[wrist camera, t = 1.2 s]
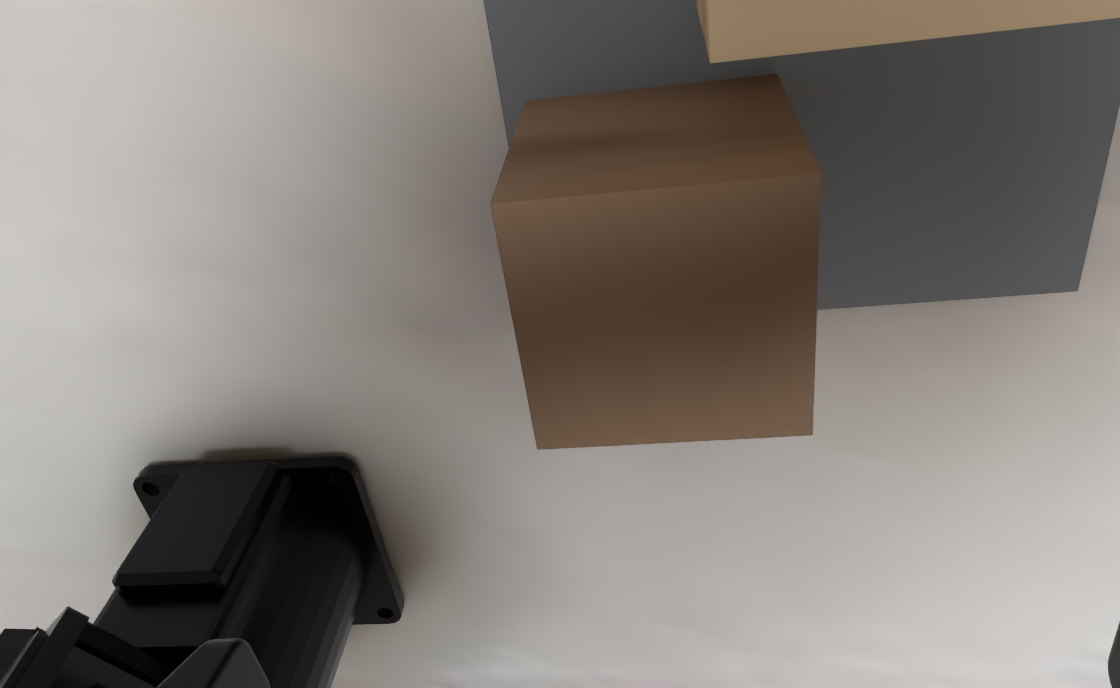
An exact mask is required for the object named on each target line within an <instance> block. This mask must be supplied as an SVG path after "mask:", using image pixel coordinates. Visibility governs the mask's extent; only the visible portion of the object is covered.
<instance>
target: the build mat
mask: <svg viewBox="0 0 1120 688" xmlns="http://www.w3.org/2000/svg"><path fill="white" fill-rule="evenodd" d="M484 5H485V11H486V17H487V23H488V29H489V34H490V40H491V46H492V52H493V58H494V64H495V69H496V75H497V81H498V87H499V93H500V98H501V104H502V110H503V116H504V122H505V128H506V133H507V139H508V145H509V148H510V145H511V142H512V139H513V136H514V133H515V130H516V127H517V124H518V121H519V118H520V116H521V113H522V110H523V107H524V104H525V101H530V100H539V99H549V98H558V97H567V96H576V95H586V94H595V93H604V92H613V91H622V90H632V89H641V88H650V87H659V86H669V85H678V84H687V83H696V82H705V81H715V80H724V79H733V78H742V77H752V76H761V75H770V74H777V76H778V78H779V80H780V82H781V85H782V87H783V89H784V91H785V93H786V96H787V98H788V100H789V102H790V105H791V107H792V109H793V111H794V113H795V116H796V118H797V120H798V122H799V125H800V127H801V129H802V131H803V133H804V136H805V138H806V140H807V142H808V145H809V147H810V149H811V151H812V153H813V156H814V158H815V160H816V162H817V165H818V167H819V169H820V171H821V201H820V230H819V259H818V288H817V310H820V309H834V308H848V307H862V306H876V305H890V304H904V303H918V302H932V301H945V300H959V299H973V298H987V297H1001V296H1015V295H1029V294H1043V293H1057V292H1071V291H1078V288H1079V283H1080V279H1081V274H1082V270H1083V265H1084V261H1085V257H1086V252H1087V248H1088V243H1089V239H1090V234H1091V230H1092V225H1093V221H1094V216H1095V212H1096V207H1097V203H1098V198H1099V194H1100V189H1101V185H1102V181H1103V176H1104V172H1105V167H1106V163H1107V158H1108V154H1109V149H1110V145H1111V140H1112V136H1113V131H1114V127H1115V122H1116V118H1117V113H1118V109H1119V105H1120V18H1113V19H1104V20H1095V21H1086V22H1077V23H1068V24H1059V25H1050V26H1041V27H1032V28H1023V29H1014V30H1005V31H996V32H987V33H978V34H969V35H960V36H951V37H942V38H933V39H924V40H915V41H906V42H897V43H888V44H879V45H870V46H861V47H852V48H843V49H834V50H825V51H816V52H807V53H798V54H789V55H780V56H771V57H762V58H753V59H744V60H735V61H726V62H717V63H710V61H709V56H708V52H707V48H706V44H705V40H704V36H703V32H702V27H701V23H700V19H699V15H698V11H697V7H696V0H484Z"/></svg>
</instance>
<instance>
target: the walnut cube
mask: <svg viewBox="0 0 1120 688" xmlns="http://www.w3.org/2000/svg"><path fill="white" fill-rule="evenodd" d="M820 201H821V171H820V169H819V167H818V165H817V162H816V160H815V158H814V156H813V153H812V151H811V149H810V147H809V145H808V142H807V140H806V138H805V136H804V133H803V131H802V129H801V127H800V125H799V122H798V120H797V118H796V116H795V113H794V111H793V109H792V107H791V105H790V102H789V100H788V98H787V96H786V93H785V91H784V89H783V87H782V85H781V82H780V80H779V78H778V76H777V74H770V75H761V76H752V77H742V78H733V79H724V80H715V81H705V82H696V83H687V84H678V85H669V86H659V87H650V88H641V89H632V90H622V91H613V92H604V93H595V94H586V95H576V96H567V97H558V98H549V99H539V100H530V101H525V104H524V107H523V110H522V113H521V116H520V118H519V121H518V124H517V127H516V130H515V133H514V136H513V139H512V142H511V145H510V148H509V151H508V154H507V157H506V160H505V162H504V165H503V168H502V171H501V174H500V177H499V180H498V183H497V186H496V189H495V192H494V195H493V198H492V201H491V204H490V205H491V210H492V215H493V220H494V225H495V231H496V236H497V241H498V246H499V252H500V257H501V262H502V267H503V273H504V278H505V283H506V288H507V293H508V299H509V304H510V309H511V314H512V320H513V325H514V330H515V335H516V341H517V346H518V351H519V356H520V361H521V367H522V372H523V377H524V382H525V388H526V393H527V398H528V403H529V408H530V414H531V419H532V424H533V429H534V435H535V440H536V445H537V450H538V449H557V448H576V447H595V446H614V445H633V444H652V443H672V442H691V441H710V440H729V439H748V438H767V437H786V436H805V435H812V433H813V404H814V375H815V346H816V317H817V288H818V259H819V230H820Z"/></svg>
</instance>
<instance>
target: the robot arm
mask: <svg viewBox="0 0 1120 688" xmlns="http://www.w3.org/2000/svg"><path fill="white" fill-rule="evenodd" d="M334 473H338V474H341V475H342V476H344V477H339V476H337V475H335V474H334ZM152 483H153V484H152ZM154 484H155V485H154ZM156 485H157V486H156ZM133 486H134V490H135V492H136V494H137V495H138V497H139V499H140V501H141V503H142V505H143V507H144V508H145V510H146V512H147V514H148V516H149V518H150V519H151V520H150V521H149V523H148V524H147V526H146V527H145V529H144V531H143V532H142V534H141V535H140V537H139V538H138V540H137V541H136V543H135V544H134V546H133V547H132V549H131V551H130V552H129V554H128V555H127V557H126V558H125V560H124V561H123V563H122V564H121V566H120V568H119V569H118V571H117V572H116V574H115V575H114V577H113V580H112V583H113V585H114V586H115V588H116V589H115V590H114V592H113V593H112V595H111V597H110V598H109V600H108V601H107V603H106V604H105V606H104V608H103V609H102V611H101V612H100V614H99V615H98V617H97V619H96V620H95V622H94V623H93V624H91V623H89V622H88V620H89V617H88V616H86V615H84V614H82V613H80V612H78V611H76V610H74V609H72V608H70V607H68V606H67V607H66V609H65V610H64V611H63V612H62V613H61V614H60V615H59V617H58V618H57V619H56V620H55V621H54V622H53V623H52V624H51V626H50V627H49V628H48V629H47V630H46V631H44V630H42V629H40V628H38V627H36V629H4V630H3V632H2V633H1V634H0V688H331V686H332V683H333V680H334V677H335V674H336V671H337V668H338V665H339V662H340V659H341V656H342V653H343V650H344V647H345V644H346V641H347V638H348V635H349V632H350V629H351V626H352V625H355V624H390V623H395V622H397V621H399V620H400V618H401V616H402V612H403V609H404V601H403V598H402V595H401V592H400V589H399V586H398V584H397V581H396V578H395V575H394V572H393V569H392V566H391V563H390V560H389V557H388V555H387V552H386V549H385V546H384V543H383V540H382V537H381V534H380V531H379V528H378V525H377V523H376V520H375V517H374V514H373V511H372V508H371V505H370V502H369V499H368V496H367V493H366V491H365V488H364V485H363V482H362V479H361V476H360V473H359V470H358V468H357V467H356V465H355V464H354V463H353V462H352V461H351V460H349V459H346V458H344V457H337V456H335V457H316V458H297V459H278V460H260V461H241V462H222V463H203V464H184V465H165V466H150V467H145V468H144V469H143V470H141V472H140V473H139V475H138V476H137V477H136V479H135V480H134V483H133ZM1108 673H1109V678H1110V683H1111V686H1112V688H1120V623H1119V626H1118V629H1117V632H1116V636H1115V639H1114V642H1113V645H1112V649H1111V652H1110V655H1109V660H1108Z"/></svg>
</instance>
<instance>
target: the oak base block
mask: <svg viewBox="0 0 1120 688" xmlns="http://www.w3.org/2000/svg"><path fill="white" fill-rule="evenodd" d="M696 7H697V11H698V15H699V19H700V23H701V27H702V32H703V36H704V40H705V44H706V48H707V52H708V56H709V61H710V63H717V62H726V61H735V60H744V59H753V58H762V57H771V56H780V55H789V54H798V53H807V52H816V51H825V50H834V49H843V48H852V47H861V46H870V45H879V44H888V43H897V42H906V41H915V40H924V39H933V38H942V37H951V36H960V35H969V34H978V33H987V32H996V31H1005V30H1014V29H1023V28H1032V27H1041V26H1050V25H1059V24H1068V23H1077V22H1086V21H1095V20H1104V19H1113V18H1120V0H696Z"/></svg>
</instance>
